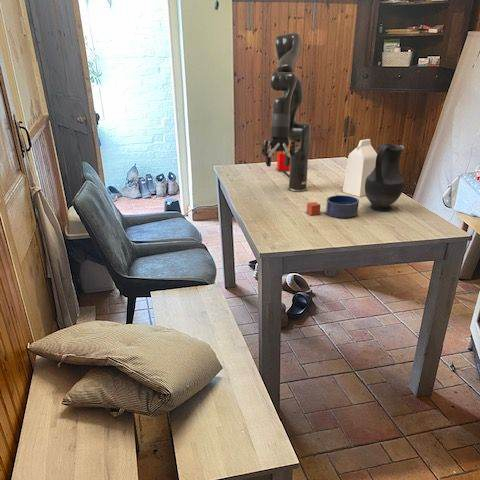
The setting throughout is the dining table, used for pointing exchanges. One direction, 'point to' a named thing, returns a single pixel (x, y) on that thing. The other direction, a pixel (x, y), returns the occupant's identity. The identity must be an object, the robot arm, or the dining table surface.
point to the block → (313, 208)
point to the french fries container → (282, 161)
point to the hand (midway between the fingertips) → (277, 166)
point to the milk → (359, 168)
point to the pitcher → (385, 178)
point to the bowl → (342, 206)
